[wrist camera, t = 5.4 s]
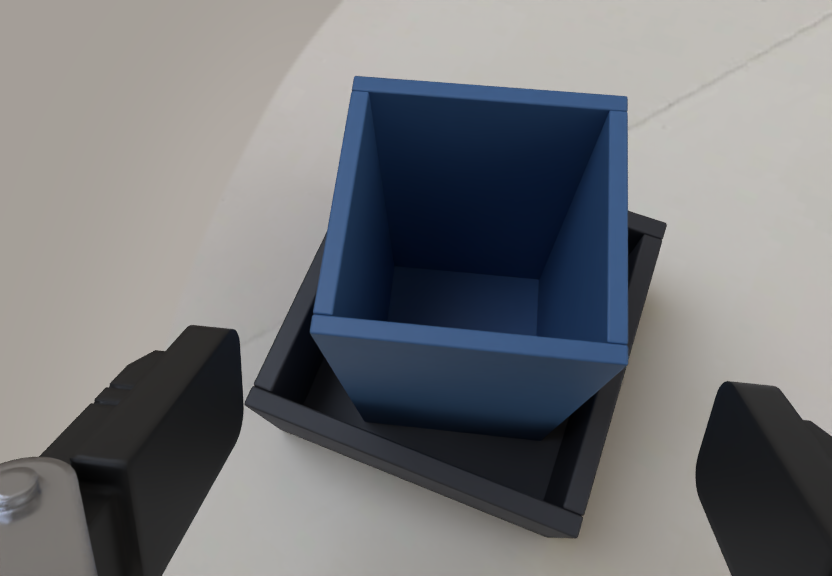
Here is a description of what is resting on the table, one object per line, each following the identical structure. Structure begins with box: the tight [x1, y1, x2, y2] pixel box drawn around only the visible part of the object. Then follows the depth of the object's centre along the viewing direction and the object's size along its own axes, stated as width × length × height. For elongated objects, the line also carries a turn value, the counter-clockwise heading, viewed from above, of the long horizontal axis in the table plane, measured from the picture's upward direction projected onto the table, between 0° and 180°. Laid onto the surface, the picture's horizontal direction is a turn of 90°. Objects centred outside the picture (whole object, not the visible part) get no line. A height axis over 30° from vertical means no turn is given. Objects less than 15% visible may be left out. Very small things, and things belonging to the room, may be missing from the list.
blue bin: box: [310, 76, 628, 441], centre depth 18 cm, size 6×6×10 cm
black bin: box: [245, 211, 667, 538], centre depth 21 cm, size 10×10×5 cm
